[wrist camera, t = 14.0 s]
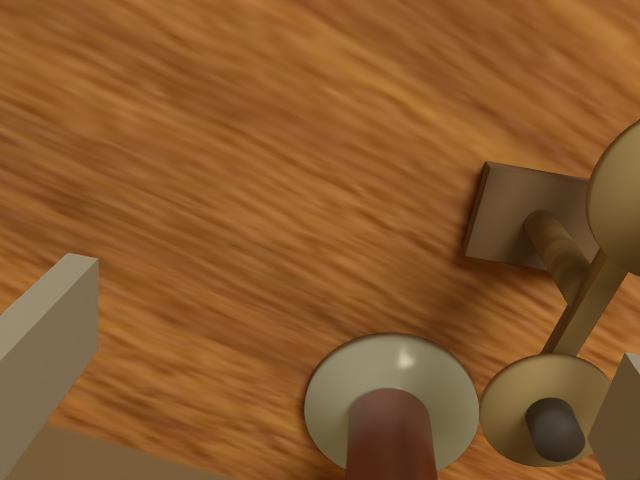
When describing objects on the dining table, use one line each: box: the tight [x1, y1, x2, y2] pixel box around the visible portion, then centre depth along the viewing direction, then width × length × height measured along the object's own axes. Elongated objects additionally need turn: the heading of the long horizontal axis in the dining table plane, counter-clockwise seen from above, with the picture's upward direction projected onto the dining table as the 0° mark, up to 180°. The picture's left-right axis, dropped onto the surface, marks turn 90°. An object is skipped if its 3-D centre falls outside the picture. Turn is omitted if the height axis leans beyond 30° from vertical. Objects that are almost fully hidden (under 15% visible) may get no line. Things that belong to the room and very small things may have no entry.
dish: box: [304, 333, 479, 471], centre depth 46 cm, size 13×13×1 cm
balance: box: [462, 119, 640, 467], centre depth 32 cm, size 8×21×15 cm, turn 171°
